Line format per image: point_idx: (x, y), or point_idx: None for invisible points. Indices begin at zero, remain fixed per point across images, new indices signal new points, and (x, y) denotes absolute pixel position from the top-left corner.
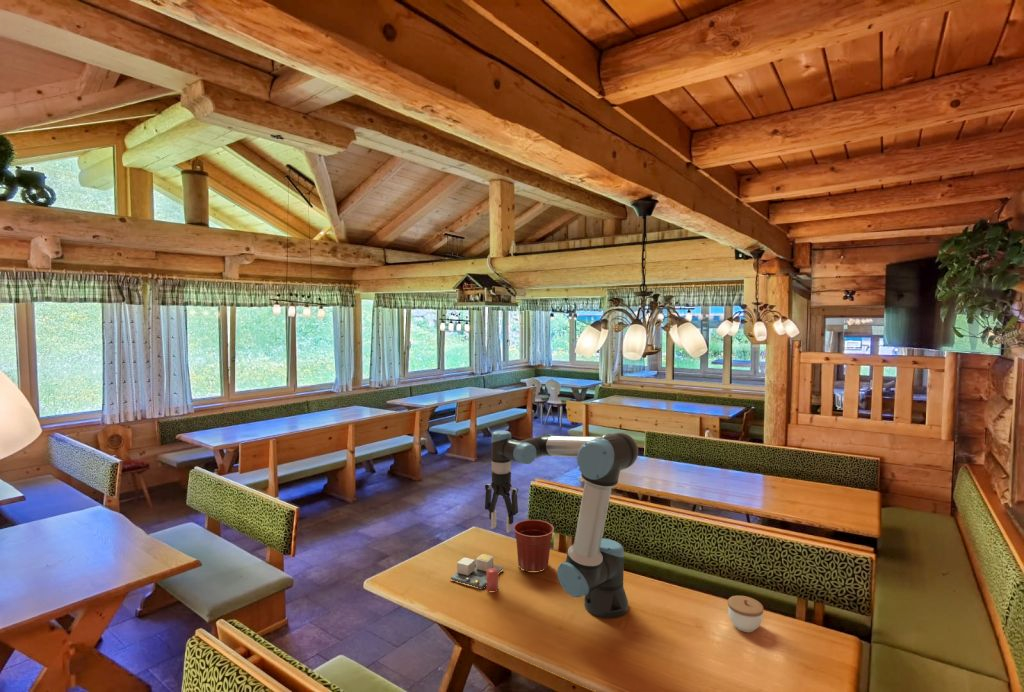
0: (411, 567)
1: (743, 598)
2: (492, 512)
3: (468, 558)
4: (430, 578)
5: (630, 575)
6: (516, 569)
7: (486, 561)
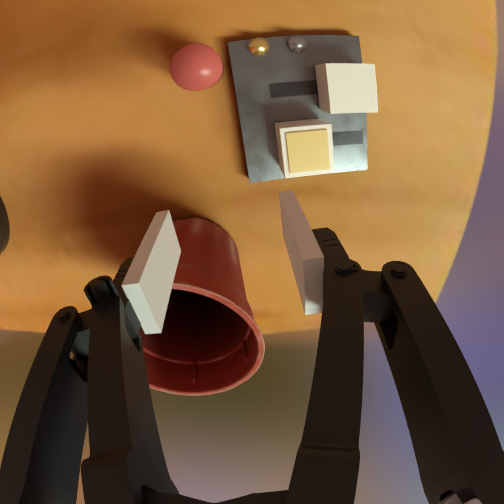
0: (479, 64)
1: None
2: (313, 267)
3: (358, 112)
4: (410, 26)
5: (35, 329)
6: (219, 212)
7: (283, 129)
